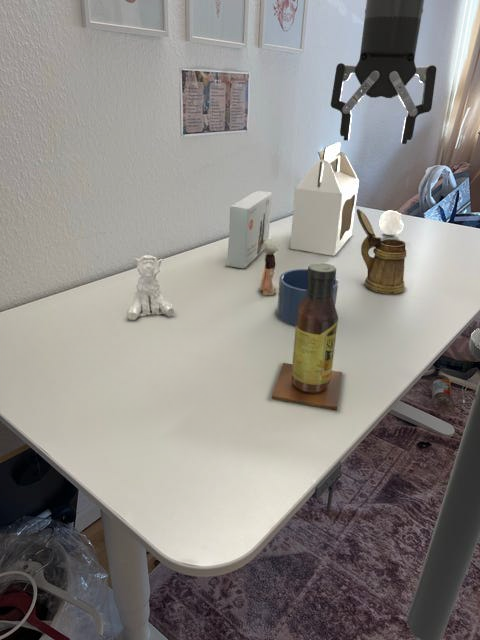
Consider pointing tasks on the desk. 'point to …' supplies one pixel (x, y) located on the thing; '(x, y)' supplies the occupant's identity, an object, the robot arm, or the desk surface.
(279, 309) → the blue cup
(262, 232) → the skincare box
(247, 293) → the desk surface
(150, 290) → the sitting furry creature
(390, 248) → the wooden mug
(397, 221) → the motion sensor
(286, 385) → the wooden coaster
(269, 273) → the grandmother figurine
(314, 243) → the gable box
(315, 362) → the sauce bottle
